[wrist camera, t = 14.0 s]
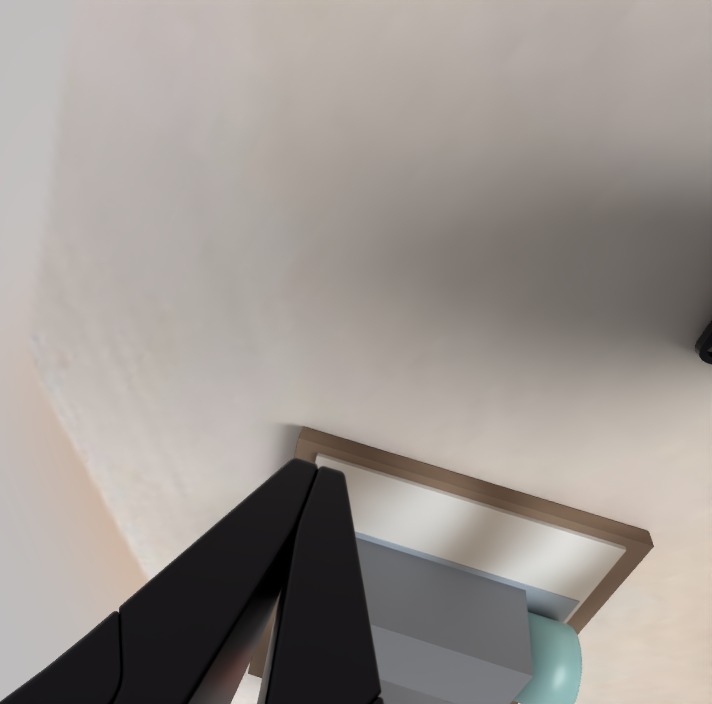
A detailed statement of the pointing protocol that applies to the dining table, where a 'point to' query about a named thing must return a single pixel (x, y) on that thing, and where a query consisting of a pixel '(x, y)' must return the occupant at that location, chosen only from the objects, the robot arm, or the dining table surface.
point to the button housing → (406, 695)
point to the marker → (464, 634)
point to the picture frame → (479, 531)
